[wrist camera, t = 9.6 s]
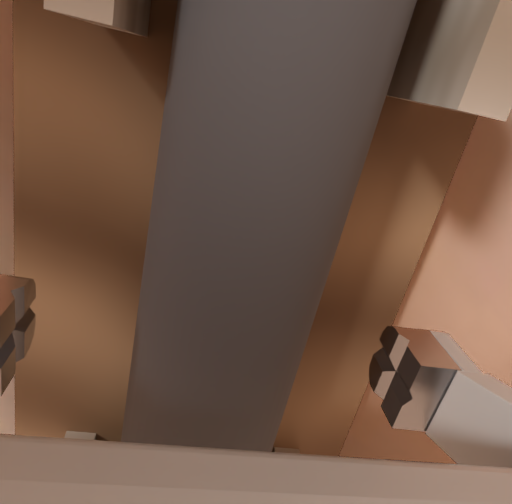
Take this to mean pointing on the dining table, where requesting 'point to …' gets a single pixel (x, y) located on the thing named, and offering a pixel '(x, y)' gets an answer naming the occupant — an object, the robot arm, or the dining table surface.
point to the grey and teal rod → (250, 207)
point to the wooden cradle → (141, 191)
